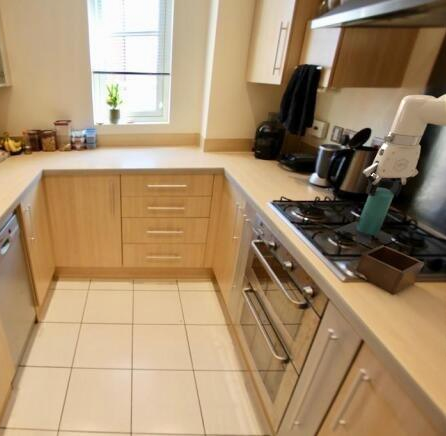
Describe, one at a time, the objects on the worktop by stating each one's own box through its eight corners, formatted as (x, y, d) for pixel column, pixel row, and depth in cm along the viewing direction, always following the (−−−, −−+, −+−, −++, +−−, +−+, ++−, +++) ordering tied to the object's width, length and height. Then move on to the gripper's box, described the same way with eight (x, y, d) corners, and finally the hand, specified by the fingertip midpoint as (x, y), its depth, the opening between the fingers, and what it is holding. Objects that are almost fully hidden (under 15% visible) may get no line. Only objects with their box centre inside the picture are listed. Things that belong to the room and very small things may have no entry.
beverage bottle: (381, 239, 106) (405, 184, 97) (359, 238, 107) (381, 183, 98) (371, 230, 112) (392, 176, 102) (350, 228, 113) (370, 176, 103)
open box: (413, 283, 87) (424, 262, 84) (393, 294, 83) (404, 273, 80) (374, 264, 95) (382, 244, 92) (353, 273, 91) (362, 253, 88)
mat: (398, 239, 107) (399, 238, 106) (375, 250, 101) (375, 249, 101) (355, 222, 118) (356, 221, 118) (332, 231, 112) (332, 230, 112)
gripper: (381, 142, 91) (360, 199, 99) (444, 142, 90) (418, 199, 98) (364, 136, 98) (346, 190, 106) (424, 136, 97) (400, 190, 105)
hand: (381, 194), depth 102 cm, fingers closed on beverage bottle, 6 cm apart
